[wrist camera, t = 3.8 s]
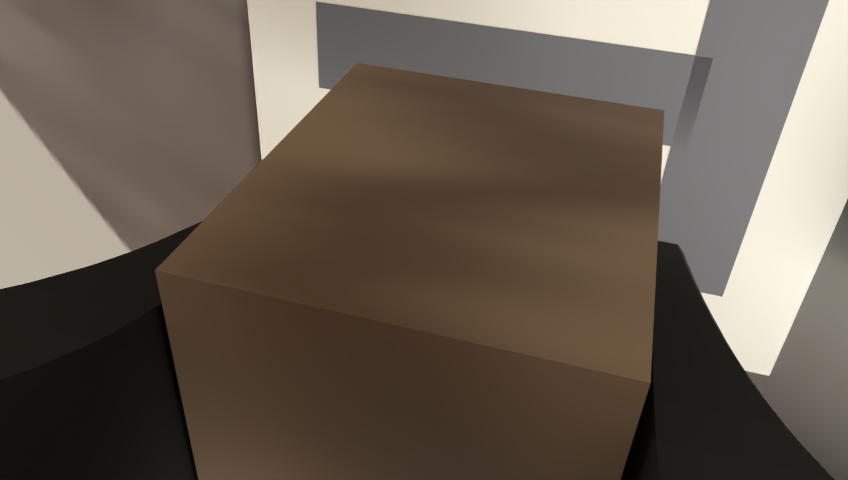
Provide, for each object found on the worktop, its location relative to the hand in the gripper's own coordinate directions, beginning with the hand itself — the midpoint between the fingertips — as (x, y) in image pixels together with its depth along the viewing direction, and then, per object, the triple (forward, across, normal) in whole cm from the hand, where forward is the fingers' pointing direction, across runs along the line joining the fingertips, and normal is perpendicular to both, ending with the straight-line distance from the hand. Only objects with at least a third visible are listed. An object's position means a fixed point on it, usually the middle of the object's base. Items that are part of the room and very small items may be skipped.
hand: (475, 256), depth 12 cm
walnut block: (+1, 0, 0) cm, 1 cm away
